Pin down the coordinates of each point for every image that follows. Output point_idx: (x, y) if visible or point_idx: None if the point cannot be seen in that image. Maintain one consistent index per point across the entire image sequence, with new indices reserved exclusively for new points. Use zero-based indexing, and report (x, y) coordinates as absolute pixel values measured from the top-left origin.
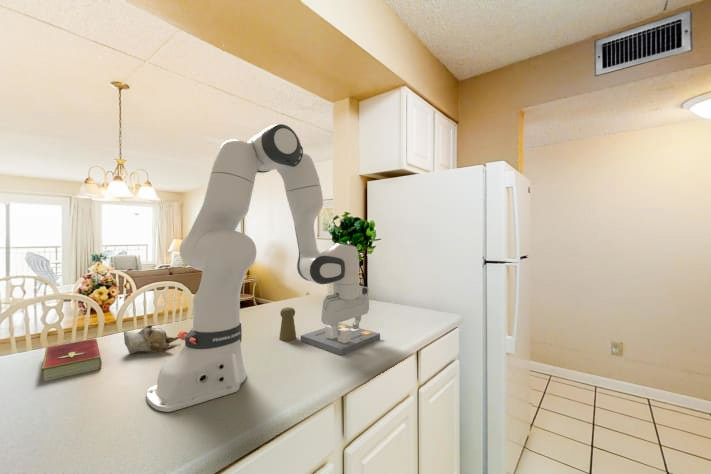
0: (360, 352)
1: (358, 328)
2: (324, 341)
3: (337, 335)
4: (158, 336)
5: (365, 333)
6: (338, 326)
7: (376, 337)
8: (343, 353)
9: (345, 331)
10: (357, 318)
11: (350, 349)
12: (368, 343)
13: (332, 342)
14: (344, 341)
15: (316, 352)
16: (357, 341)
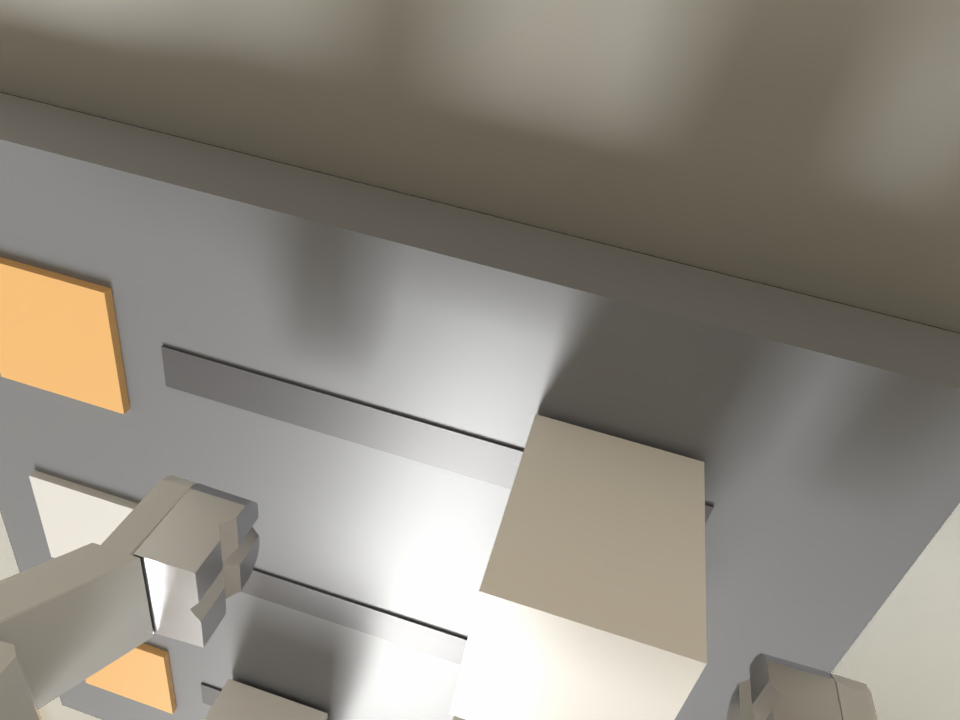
0: (690, 102)
1: (9, 496)
2: (726, 713)
3: (870, 695)
4: None
5: (79, 335)
6: (157, 698)
7: (10, 120)
8: (939, 340)
9: (667, 640)
10: (26, 678)
11: (747, 298)
12: (257, 162)
13: (716, 623)
14: (702, 488)
15: (943, 667)
16: (468, 307)
